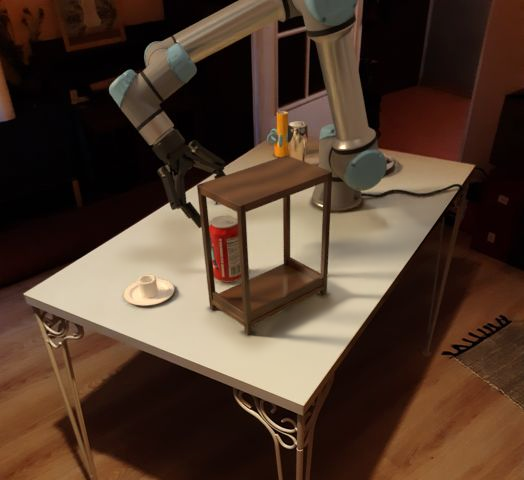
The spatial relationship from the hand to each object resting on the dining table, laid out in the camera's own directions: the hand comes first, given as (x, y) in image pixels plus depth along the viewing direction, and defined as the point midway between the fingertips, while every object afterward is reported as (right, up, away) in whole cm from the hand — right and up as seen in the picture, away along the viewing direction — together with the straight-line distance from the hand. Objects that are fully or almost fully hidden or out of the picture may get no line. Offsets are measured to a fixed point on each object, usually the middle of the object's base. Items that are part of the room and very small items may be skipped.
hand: (218, 210), depth 141 cm
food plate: (+44, +29, +57) cm, 78 cm away
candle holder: (-16, -21, -5) cm, 27 cm away
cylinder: (+18, +37, +69) cm, 80 cm away
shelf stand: (+12, -23, -9) cm, 28 cm away
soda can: (+3, -16, +1) cm, 17 cm away
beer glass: (+23, +29, +58) cm, 69 cm away
